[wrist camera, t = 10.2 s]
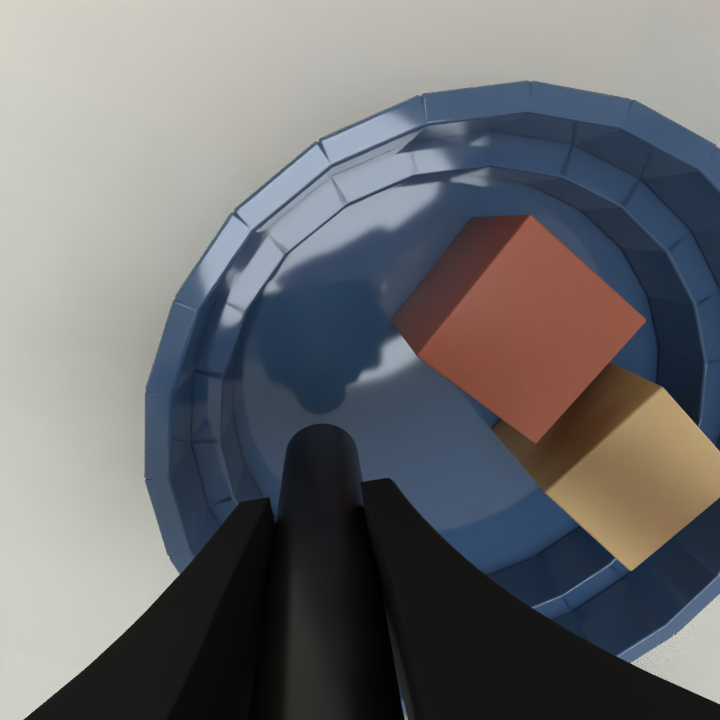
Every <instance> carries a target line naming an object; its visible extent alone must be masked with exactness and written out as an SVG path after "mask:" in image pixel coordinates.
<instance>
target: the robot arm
mask: <svg viewBox="0 0 720 720" xmlns="http://www.w3.org/2000/svg"><path fill="white" fill-rule="evenodd" d="M360 483H361V490H362V496H363V503H364V509H365V516H366V522H367V528H368V534H369V540H370V543H371V547H372V551H373V555H374V558H375V562H376V566H377V570H378V574H379V579H380V583H381V588H382V594H383V600H384V605H385V611H386V617H387V623H388V628H389V634H390V640H391V645H392V651H393V657H394V663H395V668H396V674H397V678H398V681H399V685H400V689H401V693H402V697H403V701H404V704H405V708H406V712H407V716H408V720H720V704H718V703H715V702H713V701H711V700H709V699H706V698H704V697H702V696H700V695H698V694H695V693H693V692H691V691H689V690H686V689H684V688H682V687H680V686H677V685H675V684H673V683H671V682H668V681H666V680H664V679H662V678H660V677H657V676H655V675H653V674H651V673H648V672H646V671H644V670H642V669H640V668H638V667H636V666H634V665H632V664H630V663H628V662H627V661H625V660H623V659H621V658H619V657H617V656H615V655H613V654H611V653H609V652H607V651H605V650H603V649H601V648H600V647H598V646H596V645H594V644H592V643H590V642H588V641H587V640H585V639H583V638H581V637H579V636H578V635H576V634H574V633H573V632H571V631H569V630H568V629H566V628H564V627H563V626H561V625H559V624H558V623H556V622H554V621H553V620H551V619H549V618H548V617H546V616H545V615H543V614H541V613H540V612H538V611H536V610H535V609H533V608H531V607H530V606H528V605H527V604H525V603H524V602H523V601H521V600H520V599H518V598H517V597H515V596H514V595H512V594H511V593H509V592H508V591H507V590H505V589H504V588H503V587H501V586H500V585H499V584H497V583H496V582H495V581H493V580H492V579H491V578H489V577H488V576H487V575H486V574H484V573H483V572H482V571H481V570H479V569H478V568H477V567H476V566H475V565H473V564H472V563H471V562H470V561H469V560H467V559H466V558H465V557H464V556H463V555H462V554H461V553H459V552H458V551H457V550H456V549H455V548H454V547H453V546H452V545H451V544H450V543H448V542H447V541H446V540H445V539H444V538H443V537H442V536H441V535H440V534H439V533H438V532H437V531H436V530H435V529H434V528H433V527H432V526H431V525H430V524H429V523H428V522H427V521H426V520H425V519H424V518H423V516H422V515H421V514H420V513H419V512H418V511H417V510H416V509H415V507H414V506H413V505H412V504H411V503H410V502H409V500H408V499H407V498H406V497H405V496H404V494H403V493H402V492H401V490H400V489H399V488H398V486H397V485H396V483H395V482H394V481H393V480H392V479H390V478H383V479H377V480H371V481H364V482H360ZM274 531H275V521H274V516H273V512H272V507H271V503H270V498H269V497H267V498H261V499H255V500H249V501H243V502H240V503H239V504H238V505H237V506H236V508H235V509H234V510H233V511H232V512H231V514H230V515H229V516H228V517H227V519H226V520H225V521H224V522H223V524H222V525H221V526H220V527H219V529H218V530H217V531H216V532H215V534H214V535H213V536H212V537H211V538H210V540H209V541H208V542H207V543H206V545H205V546H204V547H203V548H202V549H201V551H200V552H199V553H198V554H197V555H196V557H195V558H194V559H193V560H192V561H191V563H190V564H189V565H188V566H187V567H186V568H185V570H184V571H183V572H182V573H181V574H180V575H179V576H178V577H177V578H176V579H175V580H174V582H173V583H172V584H171V585H170V586H169V587H168V588H167V589H166V590H165V591H164V592H163V593H162V595H161V596H160V597H159V598H158V599H157V600H156V601H155V602H154V603H153V604H152V605H151V607H150V608H149V609H148V610H147V611H146V612H145V613H144V614H143V615H142V616H141V617H140V618H139V619H138V620H137V621H136V622H135V623H134V624H133V625H132V626H131V627H130V628H129V629H128V630H127V631H126V632H125V633H124V634H123V635H121V636H120V637H119V638H118V639H117V640H116V641H115V642H114V643H113V644H112V645H111V646H110V647H108V648H107V649H106V650H105V651H104V652H103V653H102V654H101V655H100V656H99V657H98V658H97V659H96V660H94V661H93V662H92V663H91V664H90V665H89V666H88V667H86V668H85V669H84V670H83V671H82V672H81V673H80V674H78V675H77V676H76V677H75V678H73V679H72V680H71V681H70V682H69V683H67V684H66V685H65V686H64V687H63V688H61V689H60V690H59V691H58V692H57V693H55V694H54V695H53V696H52V697H51V698H49V699H48V700H47V701H46V702H44V703H43V704H42V705H41V706H40V707H38V708H37V709H36V710H35V711H34V712H32V713H31V714H30V715H29V716H28V717H26V718H25V719H24V720H248V715H249V708H250V701H251V694H252V686H253V679H254V672H255V665H256V658H257V651H258V644H259V637H260V630H261V623H262V616H263V609H264V602H265V595H266V587H267V580H268V573H269V566H270V560H271V553H272V546H273V538H274Z"/></svg>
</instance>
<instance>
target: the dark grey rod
mask: <svg viewBox="0 0 720 720" xmlns="http://www.w3.org/2000/svg"><path fill="white" fill-rule="evenodd" d="M360 482H363V479H362V473H361V468H360V462H359V456H358V451H357V446H356V444H355V442H354V440H353V438H352V437H351V436H350V435H349V434H348V433H347V432H346V431H345V430H343V429H341V428H340V427H337V426H335V425H331V424H322V423H321V424H314V425H310V426H307V427H305V428H303V429H301V430H300V431H298V432H297V433H296V434H295V435H294V436H293V437H292V438H291V440H290V441H289V443H288V446H287V449H286V453H285V460H284V467H283V474H282V481H281V489H280V496H279V503H278V510H277V517H276V524H275V531H274V538H273V546H272V553H271V560H270V566H269V573H268V580H267V587H266V595H265V602H264V609H263V616H262V623H261V630H260V637H259V644H258V651H257V658H256V665H255V672H254V679H253V686H252V694H251V701H250V708H249V715H248V720H404V714H403V709H402V703H401V697H400V691H399V686H398V680H397V674H396V668H395V663H394V657H393V651H392V645H391V640H390V634H389V628H388V623H387V617H386V611H385V605H384V600H383V594H382V588H381V583H380V579H379V574H378V570H377V566H376V562H375V558H374V555H373V551H372V547H371V543H370V540H369V534H368V528H367V522H366V516H365V509H364V503H363V496H362V490H361V483H360Z"/></svg>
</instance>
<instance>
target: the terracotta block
mask: <svg viewBox="0 0 720 720" xmlns="http://www.w3.org/2000/svg"><path fill="white" fill-rule="evenodd" d="M391 322H392V324H393V325H394V326H395V328H396V329H397V330H398V332H399V333H400V334H401V336H402V337H403V338H404V340H405V341H406V342H407V344H408V345H409V346H410V348H411V349H412V350H413V352H414V353H415V354H416V356H417V357H419V358H420V359H421V360H423V361H424V362H425V363H427V364H428V365H429V366H431V367H432V368H433V369H435V370H436V371H437V372H439V373H440V374H441V375H443V376H444V377H445V378H447V379H448V380H449V381H451V382H452V383H453V384H455V385H456V386H457V387H459V388H460V389H462V390H463V391H464V392H466V393H467V394H468V395H470V396H471V397H472V398H474V399H475V400H476V401H478V402H479V403H480V404H482V405H483V406H484V407H486V408H487V409H488V410H490V411H491V412H492V413H494V414H495V415H496V416H498V417H499V418H500V419H502V420H503V421H505V422H506V423H507V424H509V425H510V426H511V427H513V428H514V429H515V430H517V431H518V432H519V433H521V434H522V435H523V436H525V437H526V438H527V439H529V440H530V441H531V442H533V443H537V442H538V441H539V440H540V439H541V437H542V436H543V435H544V434H545V433H546V432H547V431H548V430H549V429H550V427H551V426H552V425H553V424H554V423H555V422H556V421H557V420H558V419H559V417H560V416H561V415H562V414H563V413H564V412H565V411H566V410H567V409H568V408H569V406H570V405H571V404H572V403H573V402H574V401H575V400H576V399H577V398H578V396H579V395H580V394H581V393H582V392H583V391H584V390H585V389H586V388H587V386H588V385H589V384H590V383H591V382H592V381H593V380H594V379H595V378H596V376H597V375H598V374H599V373H600V372H601V371H602V370H603V369H604V368H605V366H606V365H607V364H608V363H609V362H610V361H611V360H612V359H613V358H614V357H615V355H616V354H617V353H618V352H619V351H620V350H621V349H622V348H623V347H624V345H625V344H626V343H627V342H628V341H629V340H630V339H631V338H632V337H633V335H634V334H635V333H636V332H637V331H638V330H639V329H640V328H641V327H642V325H643V324H644V323H645V322H646V319H645V318H644V317H643V316H642V315H641V314H640V313H639V312H638V311H636V310H635V309H634V308H633V307H632V306H631V305H630V304H629V303H628V302H627V301H626V300H624V299H623V298H622V297H621V296H620V295H619V294H618V293H617V292H616V291H615V290H613V289H612V288H611V287H610V286H609V285H608V284H607V283H606V282H605V281H604V280H602V279H601V278H600V277H599V276H598V275H597V274H596V273H595V272H594V271H593V270H591V269H590V268H589V267H588V266H587V265H586V264H585V263H584V262H583V261H582V260H581V259H579V258H578V257H577V256H576V255H575V254H574V253H573V252H572V251H571V250H570V249H568V248H567V247H566V246H565V245H564V244H563V243H562V242H561V241H560V240H559V239H557V238H556V237H555V236H554V235H553V234H552V233H551V232H550V231H549V230H548V229H546V228H545V227H544V226H543V225H542V224H541V223H540V222H539V221H538V220H537V219H536V218H534V217H533V216H532V215H530V214H527V215H507V216H486V217H472V218H471V219H470V221H469V222H468V223H467V224H466V226H465V227H464V228H463V229H462V231H461V232H460V233H459V235H458V236H457V237H456V238H455V240H454V241H453V242H452V244H451V245H450V246H449V247H448V249H447V250H446V251H445V253H444V254H443V255H442V256H441V258H440V259H439V260H438V261H437V263H436V264H435V265H434V267H433V268H432V269H431V270H430V272H429V273H428V274H427V276H426V277H425V278H424V279H423V281H422V282H421V283H420V285H419V286H418V287H417V288H416V290H415V291H414V292H413V293H412V295H411V296H410V297H409V299H408V300H407V301H406V302H405V304H404V305H403V306H402V308H401V309H400V310H399V311H398V313H397V314H396V315H395V317H394V318H393V319H392V321H391Z"/></svg>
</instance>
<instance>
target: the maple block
mask: <svg viewBox="0 0 720 720" xmlns="http://www.w3.org/2000/svg"><path fill="white" fill-rule="evenodd" d="M492 431H493V432H494V434H495V435H496V436H497V437H498V438H499V439H500V441H501V442H502V443H503V444H504V445H505V447H506V448H507V449H508V450H509V451H510V452H511V454H512V455H513V456H514V457H515V458H516V460H517V461H518V462H519V463H520V464H521V465H522V467H523V468H524V469H525V470H526V471H527V473H528V474H529V475H530V476H531V477H532V478H533V480H534V481H535V482H536V483H537V484H538V486H539V487H540V488H541V489H542V490H543V491H544V493H545V494H546V495H547V496H549V497H550V498H551V499H552V500H553V501H554V502H555V503H556V504H557V505H558V506H559V507H561V508H562V509H563V510H564V511H565V512H566V513H567V514H568V515H569V516H570V517H571V518H572V519H574V520H575V521H576V522H577V523H578V524H579V525H580V526H581V527H582V528H583V529H584V530H586V531H587V532H588V533H589V534H590V535H591V536H592V537H593V538H594V539H595V540H596V541H598V542H599V543H600V544H601V545H602V546H603V547H604V548H605V549H606V550H607V551H608V552H609V553H611V554H612V555H613V556H614V557H615V558H616V559H617V560H618V561H619V562H620V563H621V564H623V565H624V566H625V567H626V568H627V569H628V570H630V571H632V570H634V569H635V568H636V567H637V566H638V565H640V564H641V563H642V562H643V561H644V560H646V559H647V558H648V557H649V556H650V555H652V554H653V553H654V552H655V551H656V550H658V549H659V548H660V547H661V546H662V545H664V544H665V543H666V542H667V541H668V540H670V539H671V538H672V537H673V536H674V535H676V534H677V533H678V532H679V531H680V530H681V529H683V528H684V527H685V526H686V525H687V524H689V523H690V522H691V521H692V520H693V519H695V518H696V517H697V516H698V515H699V514H701V513H702V512H703V511H704V510H705V509H707V508H708V507H709V506H710V505H711V504H713V503H714V502H715V501H716V500H717V499H719V498H720V451H719V450H718V449H717V448H716V446H715V445H714V444H713V443H712V442H711V441H710V440H709V439H708V437H707V436H706V435H705V434H704V433H703V432H702V431H701V430H700V428H699V427H698V426H697V425H696V424H695V423H694V422H693V420H692V419H691V418H690V417H689V416H688V415H687V414H686V413H685V411H684V410H683V409H682V408H681V407H680V406H679V405H678V403H677V402H676V401H675V400H674V399H673V398H672V397H671V396H670V394H669V393H668V392H667V391H666V390H665V389H664V388H663V387H662V386H660V385H658V384H655V383H653V382H651V381H649V380H647V379H645V378H643V377H641V376H638V375H636V374H634V373H632V372H630V371H628V370H626V369H623V368H621V367H619V366H617V365H615V364H613V363H611V362H609V363H608V364H607V365H606V366H605V368H604V369H603V370H602V371H601V372H600V373H599V374H598V375H597V376H596V378H595V379H594V380H593V381H592V382H591V383H590V384H589V385H588V386H587V388H586V389H585V390H584V391H583V392H582V393H581V394H580V395H579V396H578V398H577V399H576V400H575V401H574V402H573V403H572V404H571V405H570V406H569V408H568V409H567V410H566V411H565V412H564V413H563V414H562V415H561V416H560V417H559V419H558V420H557V421H556V422H555V423H554V424H553V425H552V426H551V427H550V429H549V430H548V431H547V432H546V433H545V434H544V435H543V436H542V437H541V439H540V440H539V441H538V442H537V443H533V442H531V441H530V440H529V439H527V438H526V437H525V436H523V435H522V434H521V433H519V432H518V431H517V430H515V429H514V428H513V427H511V426H510V425H509V424H507V423H506V422H505V421H503V420H502V419H501V420H500V421H499V422H498V423H497V424H496V425H495V426H494V427H493V428H492Z"/></svg>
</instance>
